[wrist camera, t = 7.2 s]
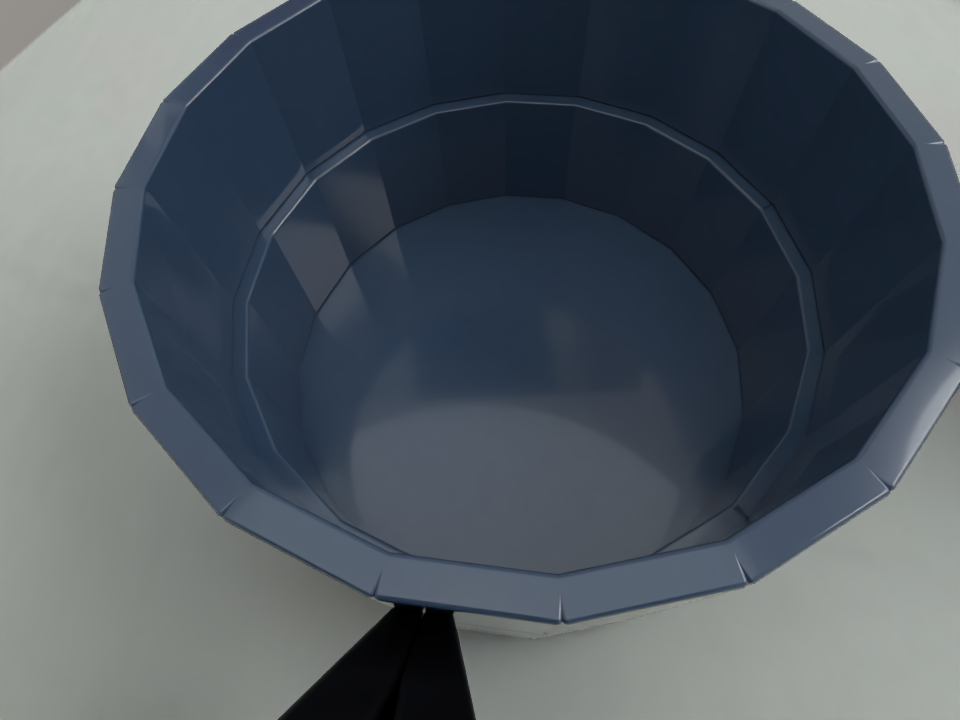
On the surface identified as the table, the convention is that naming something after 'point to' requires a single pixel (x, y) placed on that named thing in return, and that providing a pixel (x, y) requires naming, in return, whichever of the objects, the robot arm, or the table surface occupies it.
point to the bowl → (538, 296)
